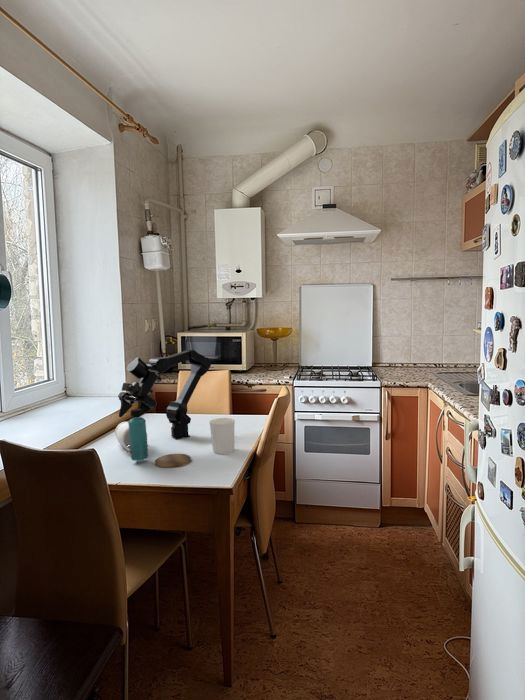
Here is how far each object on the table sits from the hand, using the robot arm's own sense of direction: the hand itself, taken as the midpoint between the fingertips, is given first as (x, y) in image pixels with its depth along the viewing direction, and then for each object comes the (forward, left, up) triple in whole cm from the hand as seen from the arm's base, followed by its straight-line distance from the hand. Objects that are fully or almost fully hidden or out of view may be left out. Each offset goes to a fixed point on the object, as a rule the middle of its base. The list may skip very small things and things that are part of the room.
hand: (126, 418), depth 185 cm
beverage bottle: (0, +13, -14) cm, 20 cm away
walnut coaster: (-10, +21, -14) cm, 28 cm away
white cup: (-31, +21, -14) cm, 41 cm away
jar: (-3, -16, -9) cm, 19 cm away
